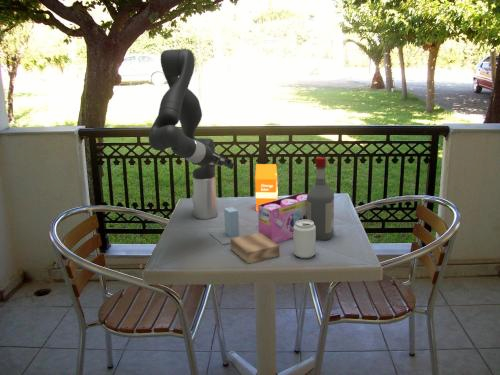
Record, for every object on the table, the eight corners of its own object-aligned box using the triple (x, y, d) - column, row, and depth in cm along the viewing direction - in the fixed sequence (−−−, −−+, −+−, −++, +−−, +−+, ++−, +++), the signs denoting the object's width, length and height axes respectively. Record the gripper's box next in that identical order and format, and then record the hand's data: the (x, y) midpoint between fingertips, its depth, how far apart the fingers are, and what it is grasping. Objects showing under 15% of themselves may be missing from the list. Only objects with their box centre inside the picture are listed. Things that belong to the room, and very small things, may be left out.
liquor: (334, 232, 198) (335, 155, 189) (330, 241, 189) (331, 161, 181) (310, 230, 200) (310, 154, 192) (305, 239, 192) (305, 160, 183)
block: (230, 237, 196) (229, 212, 193) (225, 233, 200) (224, 208, 197) (239, 235, 197) (237, 210, 194) (233, 231, 201) (232, 206, 198)
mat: (222, 244, 190) (222, 244, 189) (208, 232, 202) (208, 232, 202) (256, 237, 195) (256, 236, 195) (241, 225, 207) (241, 225, 207)
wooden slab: (248, 263, 174) (247, 252, 172) (231, 249, 186) (230, 238, 184) (279, 256, 179) (279, 245, 177) (260, 242, 191) (260, 232, 189)
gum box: (305, 223, 208) (305, 191, 204) (319, 229, 201) (319, 196, 197) (258, 239, 194) (257, 204, 190) (271, 245, 188) (270, 210, 184)
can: (301, 261, 174) (301, 227, 171) (289, 253, 181) (289, 220, 177) (319, 256, 177) (320, 223, 174) (307, 248, 184) (307, 216, 180)
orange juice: (258, 205, 231) (257, 162, 225) (278, 205, 230) (277, 162, 224) (256, 211, 224) (254, 166, 218) (276, 211, 222) (275, 166, 216)
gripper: (215, 143, 176) (241, 157, 189) (184, 140, 184) (211, 154, 198) (209, 164, 175) (236, 177, 188) (178, 161, 183) (206, 173, 197)
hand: (223, 165), depth 193 cm, fingers open, 8 cm apart
